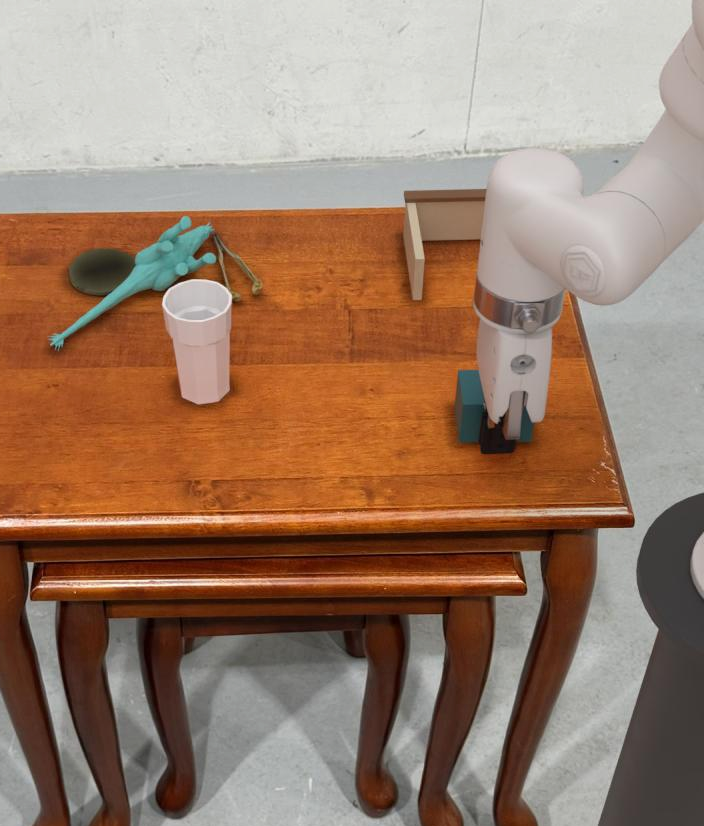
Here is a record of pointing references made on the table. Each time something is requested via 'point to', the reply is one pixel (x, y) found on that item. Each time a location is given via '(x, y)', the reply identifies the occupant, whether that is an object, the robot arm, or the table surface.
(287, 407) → the table surface
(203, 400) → the cup
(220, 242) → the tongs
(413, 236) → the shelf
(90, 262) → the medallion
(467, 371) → the box
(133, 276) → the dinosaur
